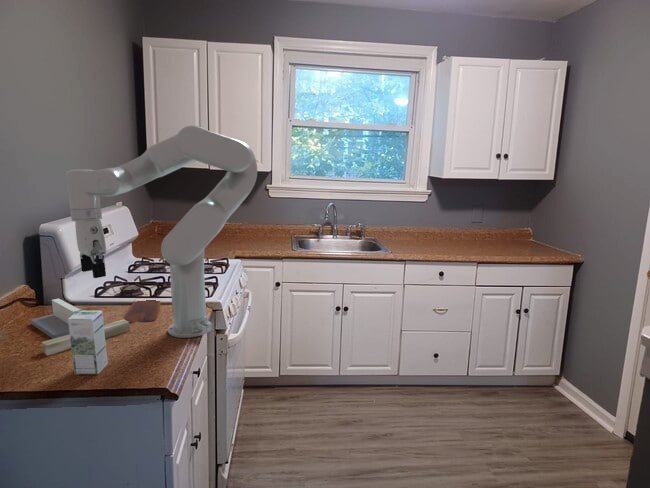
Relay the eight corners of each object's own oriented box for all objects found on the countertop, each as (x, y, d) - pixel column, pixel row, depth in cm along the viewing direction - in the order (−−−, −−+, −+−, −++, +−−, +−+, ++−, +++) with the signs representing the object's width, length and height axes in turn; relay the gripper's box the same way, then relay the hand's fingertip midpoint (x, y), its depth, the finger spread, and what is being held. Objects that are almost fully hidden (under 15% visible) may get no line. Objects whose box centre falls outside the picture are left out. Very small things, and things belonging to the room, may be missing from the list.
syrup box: (108, 363, 111) (103, 309, 108) (97, 375, 105) (91, 318, 102) (85, 364, 111) (79, 309, 108) (73, 375, 105) (66, 318, 102)
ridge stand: (104, 325, 135) (102, 305, 134) (54, 339, 125) (51, 318, 123) (79, 312, 147) (77, 293, 145) (31, 324, 136) (28, 304, 135)
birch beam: (129, 331, 132) (128, 321, 131) (47, 356, 115) (46, 345, 115) (124, 329, 134) (123, 319, 133) (43, 353, 117) (41, 342, 117)
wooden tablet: (156, 323, 139) (156, 318, 139) (122, 325, 137) (121, 320, 137) (164, 297, 165) (164, 292, 164) (135, 298, 162) (135, 294, 162)
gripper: (112, 215, 119) (118, 277, 122) (90, 210, 131) (97, 266, 134) (81, 218, 114) (89, 282, 117) (62, 213, 126) (70, 271, 129)
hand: (93, 273), depth 126 cm, fingers open, 9 cm apart
